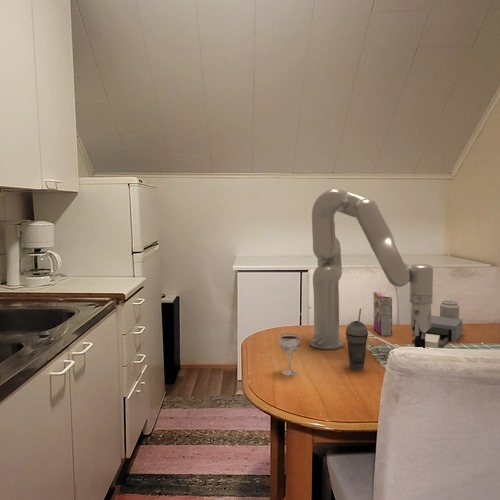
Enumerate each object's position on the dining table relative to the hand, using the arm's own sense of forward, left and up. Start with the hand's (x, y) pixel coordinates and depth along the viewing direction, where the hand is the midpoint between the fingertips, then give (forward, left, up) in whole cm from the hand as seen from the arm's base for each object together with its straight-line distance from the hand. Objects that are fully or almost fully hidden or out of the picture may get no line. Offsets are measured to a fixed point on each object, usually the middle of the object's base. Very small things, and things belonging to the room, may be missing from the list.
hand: (419, 348), depth 151 cm
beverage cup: (-26, +13, -2) cm, 29 cm away
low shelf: (+21, 0, -2) cm, 21 cm away
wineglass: (-42, +29, -2) cm, 51 cm away
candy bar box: (+18, +20, -2) cm, 27 cm away
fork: (+6, +16, -2) cm, 17 cm away
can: (+38, -2, -2) cm, 38 cm away
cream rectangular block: (+12, 0, -2) cm, 12 cm away
